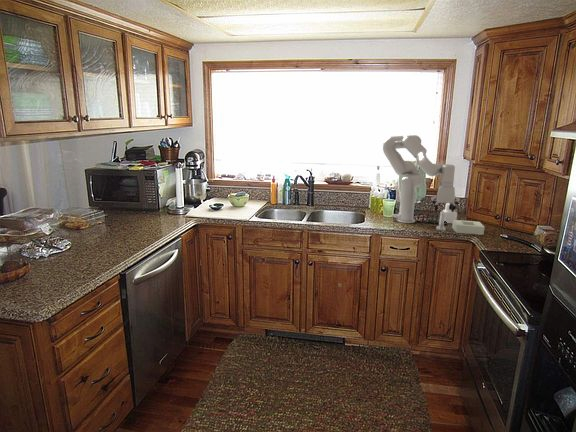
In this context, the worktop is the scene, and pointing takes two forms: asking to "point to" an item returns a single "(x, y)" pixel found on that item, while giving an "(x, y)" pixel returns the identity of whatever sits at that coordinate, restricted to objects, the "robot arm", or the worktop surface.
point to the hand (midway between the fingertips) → (444, 211)
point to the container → (450, 213)
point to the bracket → (441, 221)
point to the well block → (468, 227)
